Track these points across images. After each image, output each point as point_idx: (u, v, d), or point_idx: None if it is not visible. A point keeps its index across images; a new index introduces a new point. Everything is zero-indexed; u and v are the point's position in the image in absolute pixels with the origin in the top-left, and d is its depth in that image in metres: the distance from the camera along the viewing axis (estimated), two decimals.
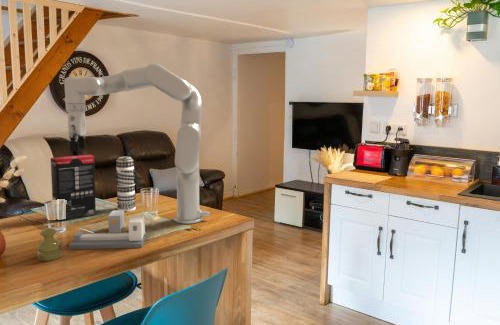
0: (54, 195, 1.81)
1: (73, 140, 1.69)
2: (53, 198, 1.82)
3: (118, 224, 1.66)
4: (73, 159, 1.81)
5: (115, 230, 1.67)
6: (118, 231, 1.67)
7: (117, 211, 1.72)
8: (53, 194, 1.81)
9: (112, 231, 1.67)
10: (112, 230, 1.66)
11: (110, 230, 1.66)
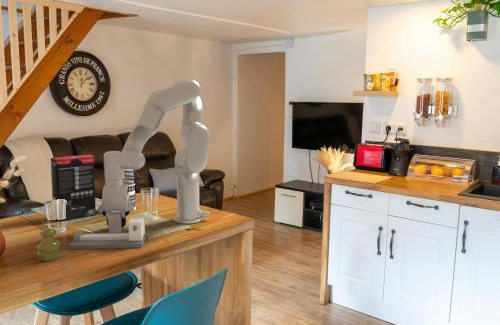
0: (54, 195, 1.81)
1: None
2: (53, 198, 1.82)
3: (118, 224, 1.66)
4: (73, 159, 1.81)
5: (115, 230, 1.67)
6: (118, 231, 1.67)
7: (117, 211, 1.72)
8: (53, 194, 1.81)
9: (112, 231, 1.67)
10: (112, 230, 1.66)
11: (110, 230, 1.66)
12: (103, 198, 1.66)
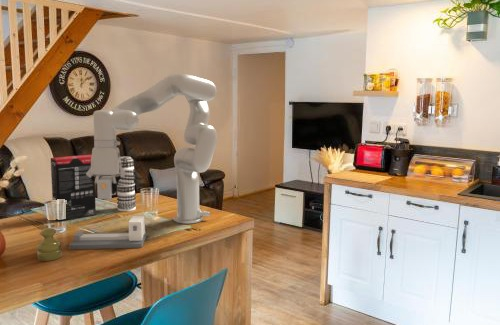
0: (54, 195, 1.81)
1: None
2: (53, 198, 1.82)
3: (108, 189, 1.53)
4: (73, 159, 1.81)
5: (104, 196, 1.53)
6: (108, 197, 1.54)
7: (108, 176, 1.59)
8: (53, 194, 1.81)
9: (101, 197, 1.53)
10: (101, 196, 1.53)
11: (99, 195, 1.53)
12: (92, 161, 1.53)
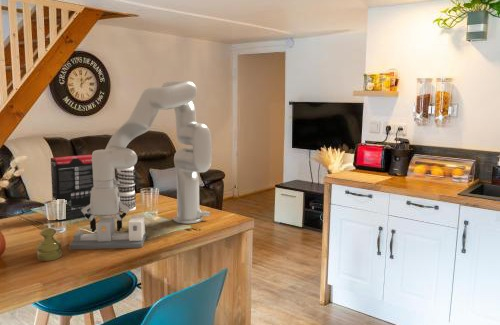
0: (54, 195, 1.81)
1: (122, 218, 1.56)
2: (53, 198, 1.82)
3: (108, 232, 1.52)
4: (73, 159, 1.81)
5: (105, 238, 1.52)
6: (108, 239, 1.52)
7: (107, 217, 1.57)
8: (53, 194, 1.81)
9: (101, 239, 1.52)
10: (101, 238, 1.52)
11: (99, 238, 1.52)
12: (91, 201, 1.51)
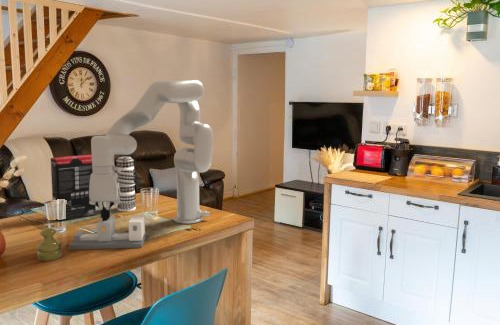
0: (54, 195, 1.81)
1: None
2: (53, 198, 1.82)
3: (108, 232, 1.52)
4: (73, 159, 1.81)
5: (105, 238, 1.52)
6: (108, 239, 1.52)
7: None
8: (53, 194, 1.81)
9: (101, 239, 1.52)
10: (101, 238, 1.52)
11: (99, 238, 1.52)
12: (90, 187, 1.51)
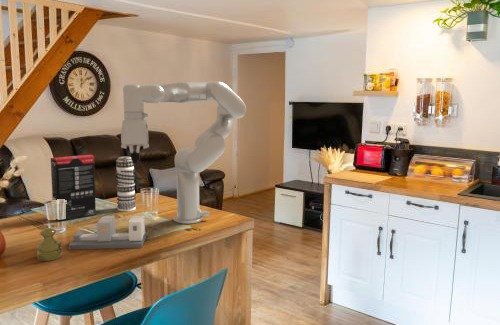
0: (54, 195, 1.81)
1: (139, 152, 1.69)
2: (53, 198, 1.82)
3: (108, 232, 1.52)
4: (73, 159, 1.81)
5: (105, 238, 1.52)
6: (108, 239, 1.52)
7: (107, 217, 1.57)
8: (53, 194, 1.81)
9: (101, 239, 1.52)
10: (101, 238, 1.52)
11: (99, 238, 1.52)
12: (122, 131, 1.65)
